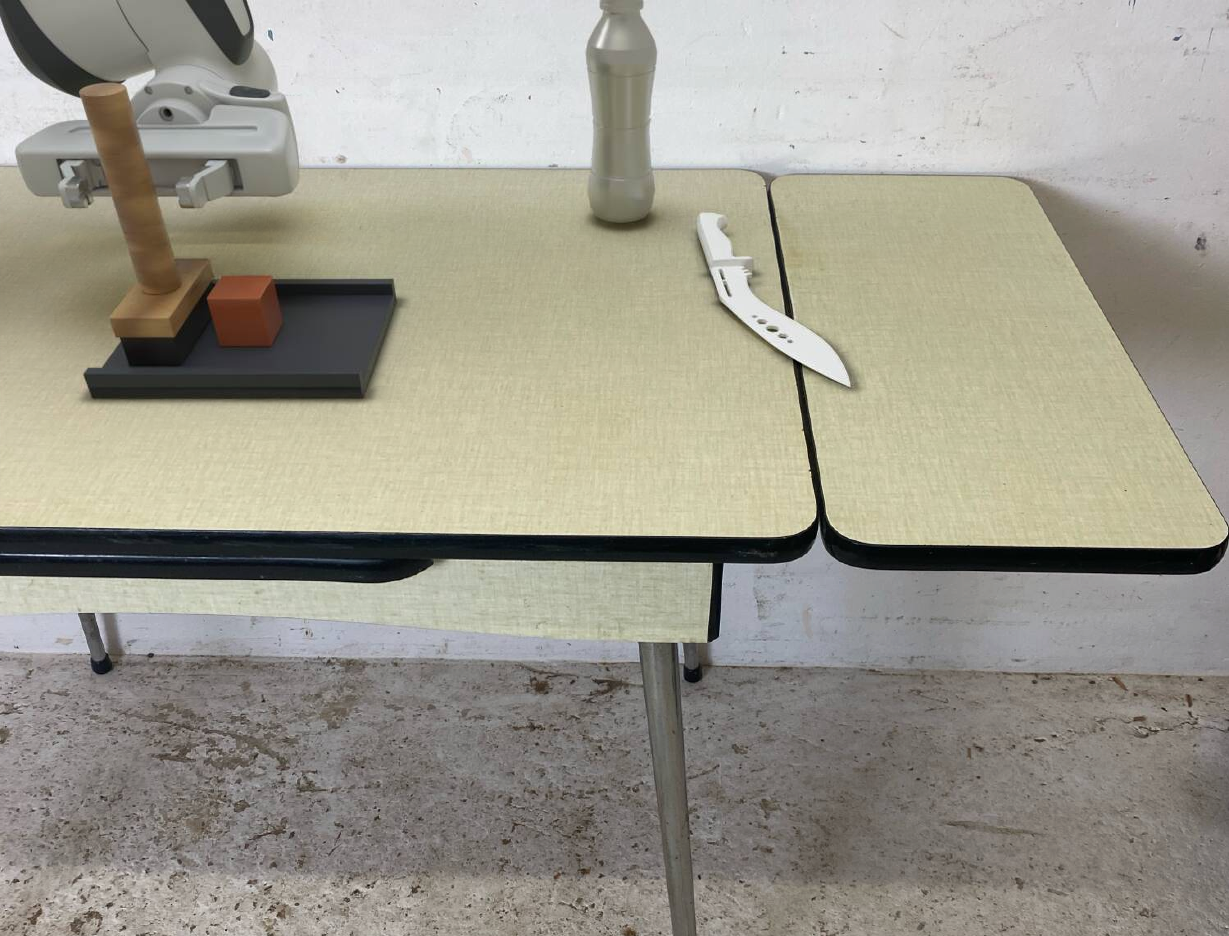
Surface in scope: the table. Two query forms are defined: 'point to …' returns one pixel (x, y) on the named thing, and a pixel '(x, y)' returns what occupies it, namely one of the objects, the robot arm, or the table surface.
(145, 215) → the brush
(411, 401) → the table surface
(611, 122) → the plastic bottle
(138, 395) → the tray
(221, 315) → the block
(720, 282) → the knife
